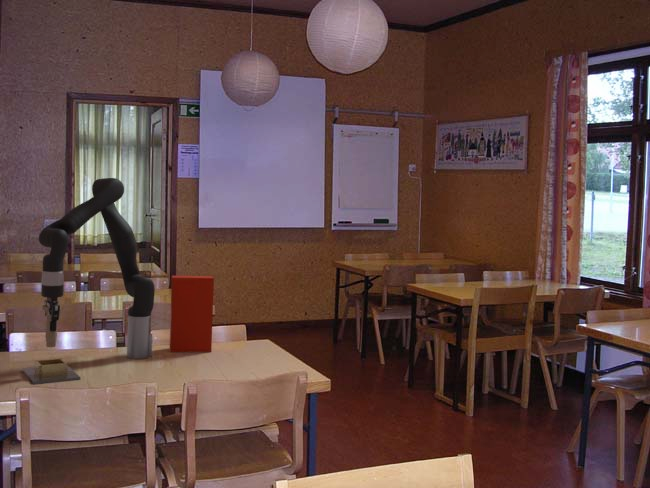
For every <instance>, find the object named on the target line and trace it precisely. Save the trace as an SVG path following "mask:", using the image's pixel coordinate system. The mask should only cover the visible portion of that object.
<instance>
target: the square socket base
mask: <svg viewBox="0 0 650 488" xmlns="http://www.w3.org/2000/svg"><path fill="white" fill-rule="evenodd" d="M21 372H23V374H24V375H25V376H26V377H27V379H28V380H29V381H30V380H31V381H30V382H31V383H32V384H33V385H39V384H49V383H59V382H68V381H77V380H81V376H80V375H79V374H78V373H76V371H74V370H73V369H72V368H71V367H70V366H69V365H68V362H66V360H64V359H63V358H62V357H61V358H50V359H38V360H37V359H36V360H34V367H25V368H24V367H23V368H21Z"/></svg>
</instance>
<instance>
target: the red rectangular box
mask: <svg viewBox="0 0 650 488" xmlns="http://www.w3.org/2000/svg"><path fill="white" fill-rule="evenodd" d="M214 283H215V278H214V277H213V276H212V275H210V276H209V275H171V289H170V291H171V292H170V295H171V297H170V319H169V320H170V325H169V330H170V331H169V353H208V352H209V353H210V352H211V353H212V347H213V346H212V344H213V343H212V342H213V315H214V314H213V313H214V312H213V311H214Z"/></svg>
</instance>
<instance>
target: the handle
mask: <svg viewBox="0 0 650 488" xmlns="http://www.w3.org/2000/svg"><path fill="white" fill-rule="evenodd" d="M59 305H60V304H59ZM41 309H42V311H44V312H45V311H46V312H47V318H46V321H45V322H46V323H45V342H46V344H45V346H46V348H55V347H57V340H58V329H57V330H56V331H54V332H51V331H50V315H48V307H47V306H46V305H45V304H44V305H42V307H41ZM61 310H62V305H60V311H61ZM50 312H51V313H52V310H50ZM53 317H55V315H54V316H53Z"/></svg>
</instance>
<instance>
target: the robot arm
mask: <svg viewBox="0 0 650 488" xmlns="http://www.w3.org/2000/svg"><path fill="white" fill-rule="evenodd" d="M91 191H92V196H93V197H91V198H89V199H87V200H86V201H84V202H82V203H80V204H78V205H76V206H74V207H73V208H72V209H70V211H68V212H67V213H66V214H65V215H64V216H62V217H61V218H60V219H57V220H56V221H53V222H51V223H50V224H48V225H47V226H46V227H44V228H43V229H41V231H40V232H39V235H38V241H39V244H40V245H41V246H43V247H45V248H50V253H49V254H46V255H44V256H43V258H42V273H41V288H40V289H41V290H40V291H41V293H40V295H41V297H43V298H46V299H45V300H44V305H46V306H47V307H48V315H50V331H51V332H54V331H56V330H57V331H58V321H59V319H60V311H61V310H60V301H59V300H58V298H62V297H63V296H64V286H65V285H64V283H65V281H64V280H65V278H64V277H65V276H64V259H65V256H66V253H67V249H68V245H69V236H68V235H72V234H73V235H74V234H75V233H76V232H77V231H79V230H80V229H81V227H83V226H84V225H85V224H87V223H88V221H90V220H91V219H92V218H93V217H95V216H96V215H97V214H99V213H100V214H101V216H102V219H103V221H104V224H105V228H106V230H107V233H108V236H109V239H110V242H111V245H112V248H113V251H114V254H115V256H116V260H117V262H118V265H119V268H120V272H121V276H122V280H123V286H124V288H125V292H126V293H127V295H129V296H130V297H132V298H133V300H132V301H133V302H132V303H133V304H132V306H130V307H128V311H127V333H126V334H127V337H126V338H127V342H126V343H127V344H126V345H127V346H126V347H127V348H126V357H127V358H128V359H133V360H141V359H148V358H152V356H153V333H151V332H152V331H151V330H152V311H153V308H154V305H155V304H154V303H155V284H154V281H153V280H152V279H151V278H149V277H146V276H143V275H142V274H141V271H140V269H139V265H138V262H137V261H138V260H137V254H138V243H137V240H136V237H135V234H134V231H133V229H132V226H130V224H129V223H128V222H127V221H126V219H125V218H124V217H123V216H122V215H121V213H120V212H119V210H118V208H117V207H116V202H118V201H119V200H120V199H122V197H123V195H124V193H125V186H124V183H123V182H122V180H120V179H118V178H116V177H106V178H103V177H102V178H97V179H96V180H95V181H93V183H92V185H91ZM50 310H52V313H51V312H50ZM54 315H55V317H53V316H54ZM44 316H45V317H46V318H45V319H47V312H46V311H44Z"/></svg>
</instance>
